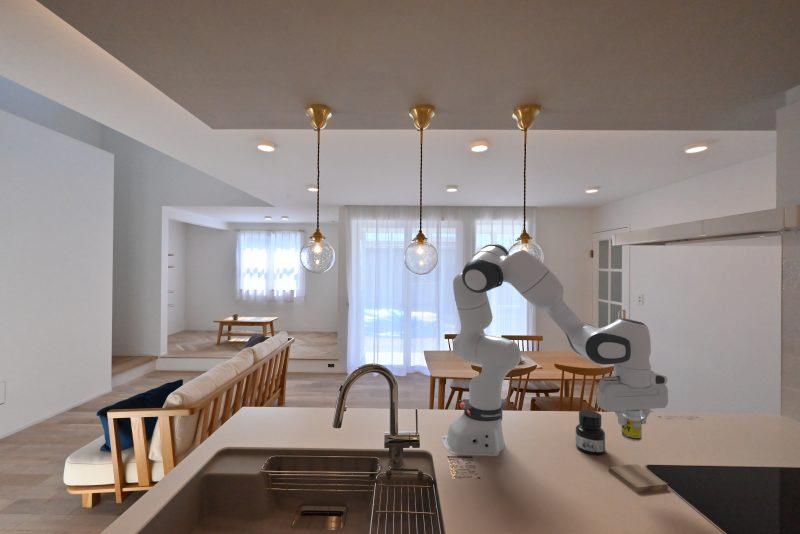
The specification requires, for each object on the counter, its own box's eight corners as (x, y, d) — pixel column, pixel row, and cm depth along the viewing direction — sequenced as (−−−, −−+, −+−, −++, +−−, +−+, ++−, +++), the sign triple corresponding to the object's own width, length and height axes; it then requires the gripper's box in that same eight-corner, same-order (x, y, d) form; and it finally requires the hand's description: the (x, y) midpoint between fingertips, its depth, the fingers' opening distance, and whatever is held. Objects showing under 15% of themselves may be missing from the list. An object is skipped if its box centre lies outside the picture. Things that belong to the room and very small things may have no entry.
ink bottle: (571, 449, 116) (571, 413, 117) (577, 439, 123) (577, 406, 123) (603, 459, 110) (603, 422, 110) (608, 448, 117) (608, 413, 117)
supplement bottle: (617, 434, 100) (617, 405, 100) (633, 433, 100) (633, 405, 100) (629, 442, 95) (629, 412, 95) (645, 441, 95) (645, 411, 95)
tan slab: (636, 494, 93) (636, 487, 93) (608, 473, 103) (608, 466, 103) (667, 491, 95) (667, 483, 95) (637, 470, 105) (637, 464, 105)
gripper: (607, 380, 93) (607, 431, 93) (672, 377, 96) (673, 426, 96) (591, 373, 99) (591, 421, 99) (652, 371, 102) (653, 417, 102)
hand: (632, 424), depth 97 cm, fingers closed on supplement bottle, 5 cm apart
